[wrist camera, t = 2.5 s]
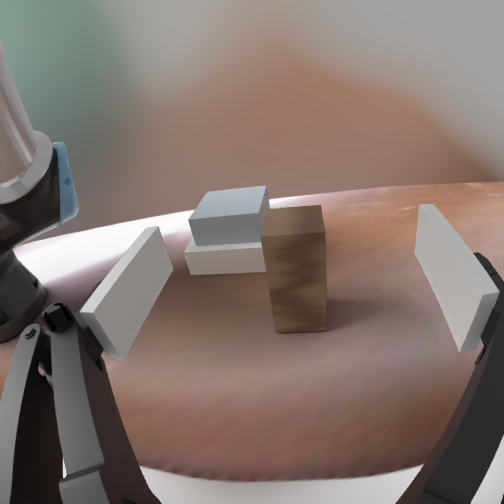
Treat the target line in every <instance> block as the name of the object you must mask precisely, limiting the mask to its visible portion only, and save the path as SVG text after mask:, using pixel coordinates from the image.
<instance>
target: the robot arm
mask: <svg viewBox="0 0 504 504" xmlns="http://www.w3.org/2000/svg"><path fill="white" fill-rule="evenodd" d="M78 208H79V205H78V200H77V197H76V192H75V188H74V183H73V179H72V175H71V170H70V166H69V161H68V157H67V152H66V147H65V144H64V143H63V142H58V143H57V142H55V143H53V144H52V143H51V141H50V139H49V138H48V136H47V135H45V134H44V133H41V132H38V131H33V128H32V126H31V124H30V122H29V119H28V117H27V114H26V112H25V110H24V107H23V105H22V102H21V100H20V97H19V94H18V92H17V89H16V86H15V84H14V81H13V79H12V75H11V72H10V69H9V66H8V63H7V60H6V57H5V54H4V50H3V47H2V43H1V40H0V342H4V341H6V340H8V339H10V338H12V337H14V336H15V335H17V334H18V333H20V332H21V331H22V330H23V329H24V328H25V329H24V331H23V332H22V333H21V335H20V338H19V340H18V343H17V346H16V349H15V352H14V355H13V358H12V361H11V365H10V368H9V371H8V375H7V378H6V382H5V385H4V389H3V393H2V397H1V401H0V504H162V503H161V502H160V501H159V499H158V498H157V497H156V496H155V495H154V494H153V493H152V492H151V490H150V489H149V487H148V485H147V483H146V480H145V478H144V476H143V474H142V472H141V469H140V467H139V464H138V462H137V460H136V457H135V455H134V452H133V450H132V447H131V445H130V442H129V439H128V437H127V434H126V431H125V428H124V426H123V423H122V420H121V417H120V414H119V411H118V408H117V405H116V402H115V398H114V395H113V392H112V388H111V385H110V381H109V378H108V374H107V370H106V366H105V363H104V360H103V358H102V357H101V354H102V352H103V350H104V351H105V352H106V354H107V355H108V356H109V358H110V359H114V360H121V361H124V360H125V358H126V356H127V354H128V352H129V350H130V348H131V346H132V344H133V342H134V340H135V338H136V336H137V335H138V333H139V331H140V329H141V327H142V325H143V323H144V321H145V320H146V318H147V316H148V314H149V312H150V310H151V308H152V307H153V305H154V303H155V301H156V299H157V298H158V296H159V294H160V292H161V290H162V289H163V287H164V285H165V283H166V282H167V280H168V278H169V276H170V275H171V273H172V271H173V267H172V264H171V261H170V258H169V255H168V253H167V250H166V247H165V244H164V241H163V238H162V235H161V232H160V229H159V226H157V227H149V228H146V229H145V230H144V231H143V232H142V233H141V235H140V236H139V237H138V238H137V239H136V240H135V242H134V243H133V244H132V245H131V246H130V248H129V249H128V250H127V251H126V252H125V254H124V255H123V256H122V257H121V258H120V260H119V261H118V262H117V263H116V265H115V266H114V267H113V268H112V270H111V271H110V272H109V273H108V275H107V276H106V277H105V278H104V279H103V280H102V281H100V282H99V283H98V284H97V285H96V286H95V288H94V289H93V290H92V292H91V293H90V294H89V296H88V298H86V300H85V301H84V302H83V304H82V305H81V306H80V308H79V309H78V310H77V312H76V313H75V314H74V315H73V314H72V312H71V310H70V309H69V307H68V305H67V304H66V302H65V301H57V302H54V303H52V304H51V305H49V306H48V307H47V308H46V309H45V310H44V311H43V313H42V316H41V318H42V319H43V321H44V322H45V324H46V325H47V327H48V328H49V331H43V329H42V328H41V326H40V325H39V324H37V323H36V324H32V325H29V324H30V323H31V322H32V321H33V319H34V318H35V317H36V316H37V314H38V313H39V311H40V310H41V308H42V306H43V304H44V302H45V298H46V292H45V290H44V288H43V286H42V285H41V283H40V281H39V280H38V279H37V278H36V277H35V276H34V275H33V274H32V273H31V272H30V271H29V270H28V269H27V268H26V267H25V266H24V265H23V264H22V263H21V262H20V261H19V260H18V259H17V257H16V256H15V254H14V252H13V250H12V248H15V247H16V246H18V245H19V244H22V243H24V242H26V241H28V240H30V239H32V238H34V237H36V236H38V235H40V234H42V233H44V232H46V231H48V230H51V229H53V228H55V227H57V226H61V225H62V223H64V222H66V221H67V220H69V219H71V218H73V217H74V216H75V215H76V214H77V212H78ZM414 254H415V256H416V258H417V260H418V262H419V263H420V265H421V267H422V269H423V271H424V273H425V275H426V277H427V279H428V281H429V283H430V286H431V288H432V290H433V292H434V294H435V296H436V298H437V300H438V303H439V305H440V307H441V309H442V312H443V314H444V316H445V319H446V321H447V323H448V326H449V328H450V331H451V333H452V336H453V338H454V341H455V343H456V346H457V348H458V351H459V352H464V351H468V350H473V349H475V348H476V346H477V344H478V342H479V340H480V338H481V340H482V342H483V344H484V347H483V349H482V351H481V353H480V355H479V356H478V358H477V360H476V362H475V365H476V366H475V369H474V371H473V374H472V376H471V378H470V381H469V383H468V385H467V387H466V390H465V392H464V394H463V396H462V398H461V400H460V402H459V404H458V406H457V408H456V410H455V412H454V414H453V416H452V418H451V420H450V422H449V424H448V426H447V427H446V429H445V431H444V433H443V435H442V436H441V438H440V440H439V441H438V443H437V445H436V447H435V448H434V450H433V451H432V453H431V455H430V456H429V458H428V459H427V461H426V462H425V464H424V465H423V467H422V468H421V470H420V472H419V473H418V474H417V476H416V477H415V478H414V480H413V481H412V483H411V484H410V485H409V487H408V488H407V490H406V491H405V492H404V494H403V495H402V496H401V497H400V499H399V500H398V501H397V502H396V503H395V504H470V503H471V501H472V499H473V497H474V496H475V494H476V492H477V490H478V488H479V486H480V484H481V483H482V481H483V479H484V477H485V475H486V473H487V471H488V469H489V467H490V465H491V462H492V460H493V458H494V456H495V454H496V451H497V449H498V447H499V444H500V442H501V440H502V437H503V434H504V281H503V280H502V278H501V277H500V276H499V275H498V273H497V271H496V270H495V269H494V268H493V266H492V264H491V263H490V262H489V260H488V259H487V258H485V257H484V256H483V255H481V254H480V253H479V252H477V253H472V251H471V250H470V249H469V247H468V246H467V245H466V243H465V242H464V241H463V239H462V238H461V237H460V236H459V234H458V233H457V232H456V231H455V229H454V228H453V227H452V226H451V225H450V223H449V222H448V221H447V220H446V219H445V217H444V216H443V215H442V214H441V213H440V211H439V210H438V209H437V208H436V207H435V206H434V205H433V204H419V214H418V225H417V234H416V243H415V251H414ZM28 325H29V326H28ZM38 366H40V367H41V369H42V370H43V371H44V372H43V376H42V375H41V374H40V373H39V371H38ZM63 458H64V463H65V467H66V472H67V476H66V477H65V478H63ZM501 504H504V495H503V498H502V501H501Z"/></svg>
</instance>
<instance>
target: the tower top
mask: <svg viewBox="0 0 504 504" xmlns="http://www.w3.org/2000/svg"><path fill="white" fill-rule="evenodd" d="M266 209H270V205H269V199H268V192H267V187H266V186H258V187H248V188H238V189H230V190H221V191H213V192H207V194H206V195H205V196H204V198H203V199H202V201H201V202H200V204H199V205H198V207H197V208H196V209H195V211H194V212H193V214H192V215H191V216H190V218H189V219H188V220H189V224H190V227H191V231H192V234H193V237H194V241H195V244H196V246H210V245H224V244H238V243H252V242H261V238H260V235H261V231H262V226H263V222H264V217H265V213H266Z"/></svg>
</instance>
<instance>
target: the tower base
mask: <svg viewBox="0 0 504 504" xmlns="http://www.w3.org/2000/svg"><path fill="white" fill-rule="evenodd" d="M275 208H281V205H272V206H270V209H275ZM183 253H184V256H185V259H186V262H187V265H188V268H189V271H190V274H191V275H208V274H231V273H253V272H266V268H265V262H264V256H263V250H262V244H261V242H252V243H238V244H224V245H210V246H196V244H195V241H194V237H192V238H191V240H190V242H189V244H188V245H187V247H186V249H185V250H184V252H183Z"/></svg>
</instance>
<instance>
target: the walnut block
mask: <svg viewBox="0 0 504 504" xmlns="http://www.w3.org/2000/svg"><path fill="white" fill-rule="evenodd" d="M260 238H261V244H262V250H263V256H264V262H265V268H266V274H267V280H268V286H269V292H270V298H271V304H272V310H273V316H274V322H275V329H276V333H285V332H313V331H327V282H326V245H325V229H324V222H323V216H322V209H321V205H315V206H301V207H287V208H275V209H266V213H265V217H264V222H263V226H262V231H261V235H260Z"/></svg>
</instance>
